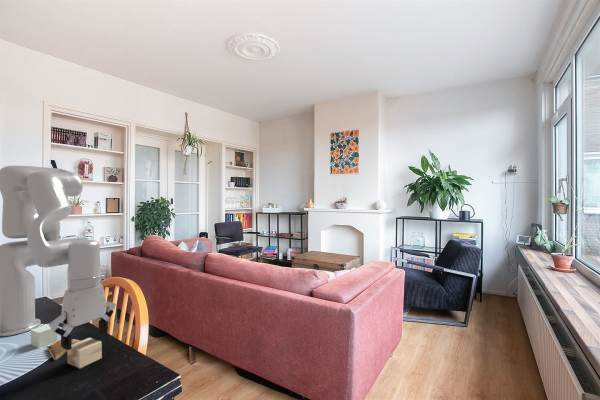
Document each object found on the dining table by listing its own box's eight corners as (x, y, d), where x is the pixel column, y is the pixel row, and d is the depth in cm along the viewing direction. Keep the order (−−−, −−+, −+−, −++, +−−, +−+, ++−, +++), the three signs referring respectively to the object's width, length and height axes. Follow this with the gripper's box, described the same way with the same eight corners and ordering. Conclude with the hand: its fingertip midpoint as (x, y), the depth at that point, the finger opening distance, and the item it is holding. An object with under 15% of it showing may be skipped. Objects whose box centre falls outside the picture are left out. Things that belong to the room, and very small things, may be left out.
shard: (54, 362, 86) (54, 356, 86) (28, 362, 86) (28, 356, 86) (81, 344, 97) (81, 338, 97) (57, 344, 97) (57, 338, 97)
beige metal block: (67, 363, 85) (67, 346, 85) (89, 353, 91) (89, 337, 90) (79, 369, 83) (79, 351, 82) (101, 358, 88) (101, 341, 88)
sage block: (30, 345, 95) (30, 329, 95) (49, 338, 100) (49, 323, 100) (38, 348, 93) (38, 332, 93) (57, 341, 98) (57, 326, 98)
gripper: (107, 274, 95) (108, 327, 96) (42, 289, 80) (43, 352, 80) (121, 276, 92) (122, 331, 92) (56, 293, 77) (58, 358, 77)
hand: (85, 341), depth 86 cm, fingers open, 9 cm apart
